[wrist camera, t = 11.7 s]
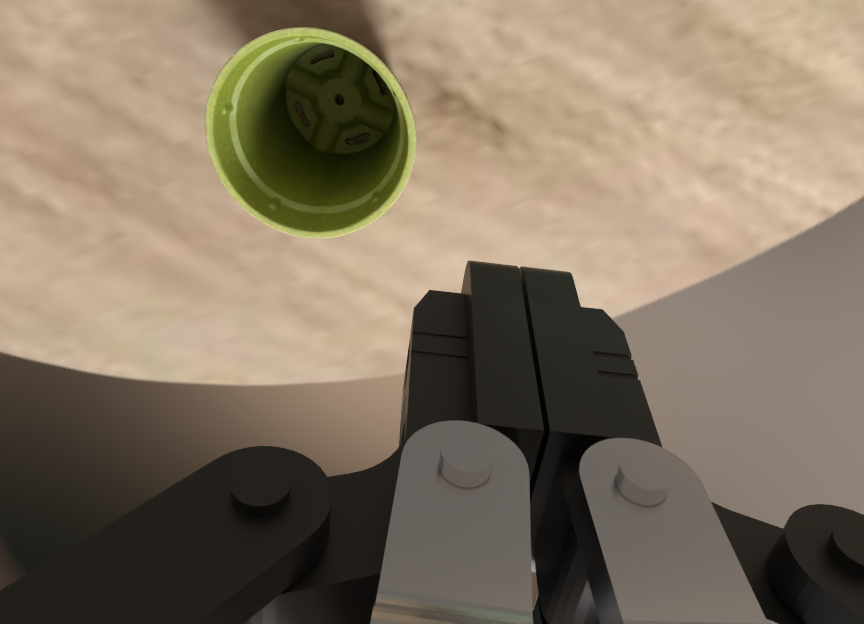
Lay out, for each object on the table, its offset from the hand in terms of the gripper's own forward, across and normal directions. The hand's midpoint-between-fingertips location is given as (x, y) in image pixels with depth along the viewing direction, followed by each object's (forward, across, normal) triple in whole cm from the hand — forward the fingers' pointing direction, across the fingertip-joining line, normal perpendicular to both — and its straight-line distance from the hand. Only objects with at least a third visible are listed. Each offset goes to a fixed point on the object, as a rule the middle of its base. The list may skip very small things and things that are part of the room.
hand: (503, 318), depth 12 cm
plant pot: (+32, +6, +8) cm, 33 cm away
